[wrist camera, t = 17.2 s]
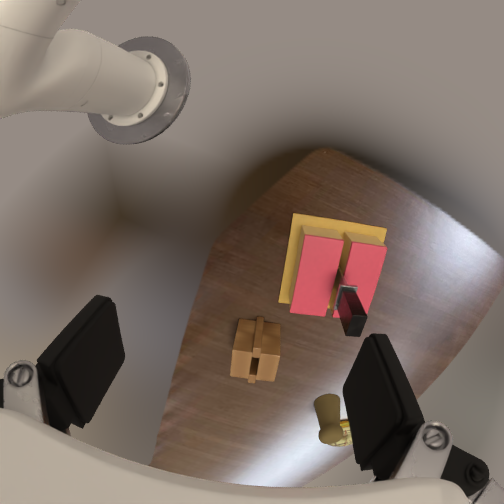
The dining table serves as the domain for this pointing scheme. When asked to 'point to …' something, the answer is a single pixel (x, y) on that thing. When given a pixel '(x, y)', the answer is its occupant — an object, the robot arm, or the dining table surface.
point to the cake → (330, 262)
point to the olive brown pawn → (329, 418)
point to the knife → (349, 306)
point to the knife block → (256, 350)
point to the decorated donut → (344, 435)
